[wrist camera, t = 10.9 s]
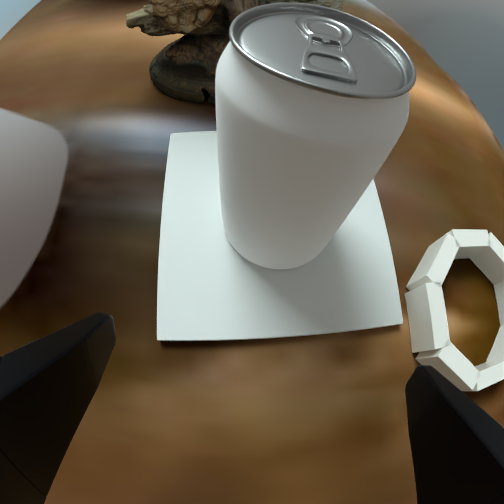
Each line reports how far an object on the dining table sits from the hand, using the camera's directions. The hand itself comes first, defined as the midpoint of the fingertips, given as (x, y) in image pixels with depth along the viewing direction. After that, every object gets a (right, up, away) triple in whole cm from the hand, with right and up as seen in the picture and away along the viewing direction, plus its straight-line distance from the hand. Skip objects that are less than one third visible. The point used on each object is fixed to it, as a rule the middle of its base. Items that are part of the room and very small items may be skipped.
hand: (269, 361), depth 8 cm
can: (+1, +5, +10) cm, 12 cm away
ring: (+14, -1, +9) cm, 17 cm away
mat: (+1, +5, +11) cm, 12 cm away
